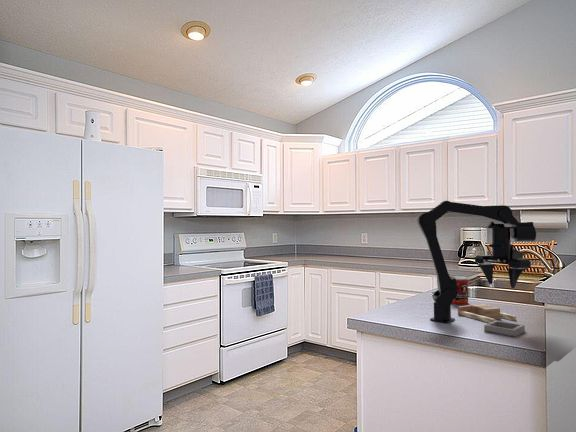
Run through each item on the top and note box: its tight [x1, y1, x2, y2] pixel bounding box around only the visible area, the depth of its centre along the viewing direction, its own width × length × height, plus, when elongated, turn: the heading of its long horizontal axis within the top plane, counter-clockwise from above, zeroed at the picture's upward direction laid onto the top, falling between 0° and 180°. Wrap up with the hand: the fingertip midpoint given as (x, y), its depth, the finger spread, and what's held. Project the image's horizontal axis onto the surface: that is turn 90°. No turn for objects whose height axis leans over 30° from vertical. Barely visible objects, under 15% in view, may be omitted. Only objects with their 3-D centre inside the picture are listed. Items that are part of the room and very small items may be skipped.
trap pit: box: [483, 319, 526, 338], centre depth 132 cm, size 9×9×2 cm
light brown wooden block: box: [470, 303, 501, 320], centre depth 152 cm, size 8×6×4 cm
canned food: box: [449, 275, 469, 305], centre depth 178 cm, size 8×8×11 cm
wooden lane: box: [457, 303, 517, 324], centre depth 151 cm, size 16×11×3 cm
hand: (501, 285), depth 144 cm, fingers open, 9 cm apart
